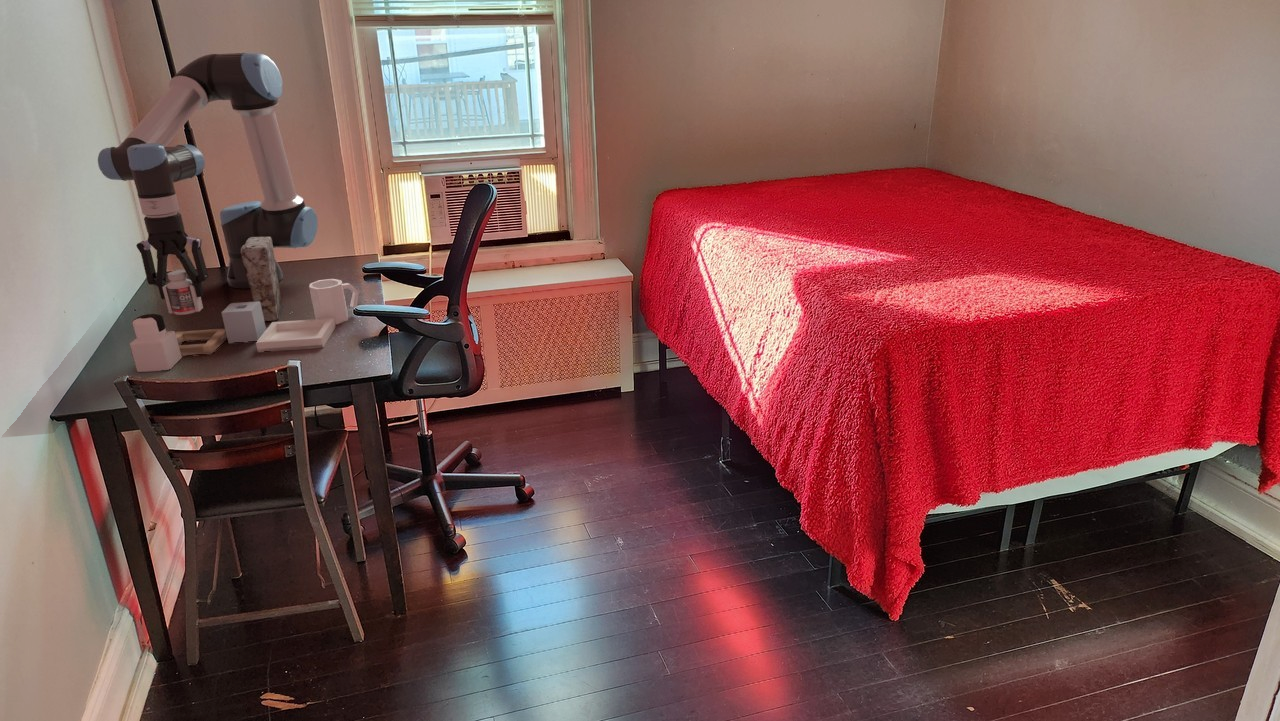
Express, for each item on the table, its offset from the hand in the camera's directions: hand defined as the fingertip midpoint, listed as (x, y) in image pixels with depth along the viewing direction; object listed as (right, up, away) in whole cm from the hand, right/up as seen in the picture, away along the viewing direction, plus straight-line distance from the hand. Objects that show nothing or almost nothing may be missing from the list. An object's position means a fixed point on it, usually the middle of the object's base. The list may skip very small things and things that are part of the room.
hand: (186, 310), depth 199 cm
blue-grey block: (+11, -6, +9) cm, 15 cm away
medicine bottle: (-2, -13, -7) cm, 15 cm away
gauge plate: (0, -9, +4) cm, 9 cm away
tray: (+24, -7, +6) cm, 26 cm away
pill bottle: (0, -1, 0) cm, 0 cm away
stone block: (+10, 0, +24) cm, 26 cm away
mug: (+29, -1, +20) cm, 35 cm away
